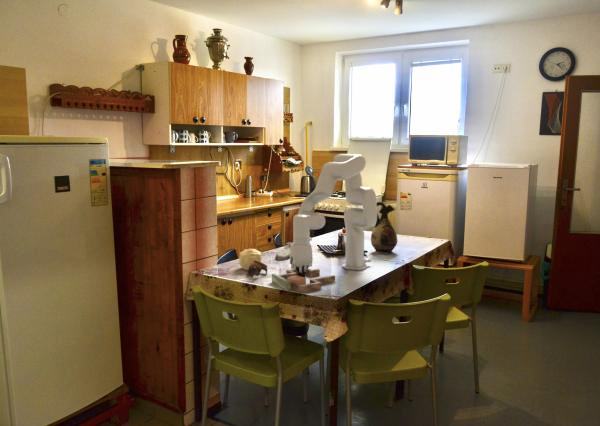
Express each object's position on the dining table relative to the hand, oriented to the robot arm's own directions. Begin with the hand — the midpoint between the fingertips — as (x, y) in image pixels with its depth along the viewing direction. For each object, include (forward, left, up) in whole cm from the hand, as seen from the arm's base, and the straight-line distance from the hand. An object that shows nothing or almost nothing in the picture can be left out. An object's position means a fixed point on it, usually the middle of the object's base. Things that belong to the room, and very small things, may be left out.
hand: (301, 279), depth 229 cm
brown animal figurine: (+12, -22, -2) cm, 25 cm away
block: (+5, +3, -2) cm, 6 cm away
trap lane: (-2, 0, -1) cm, 2 cm away
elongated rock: (-24, -55, -2) cm, 60 cm away
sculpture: (+10, -35, -2) cm, 37 cm away
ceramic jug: (-73, -30, -2) cm, 79 cm away
